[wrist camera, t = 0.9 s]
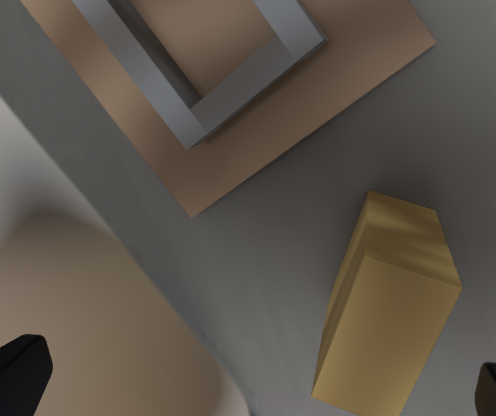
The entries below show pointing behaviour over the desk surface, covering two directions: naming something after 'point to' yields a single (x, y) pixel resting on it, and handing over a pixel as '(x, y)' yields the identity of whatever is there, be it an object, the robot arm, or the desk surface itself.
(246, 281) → the desk surface
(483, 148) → the desk surface
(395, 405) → the keyed peg
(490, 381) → the robot arm
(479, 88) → the desk surface
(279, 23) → the socket holder
